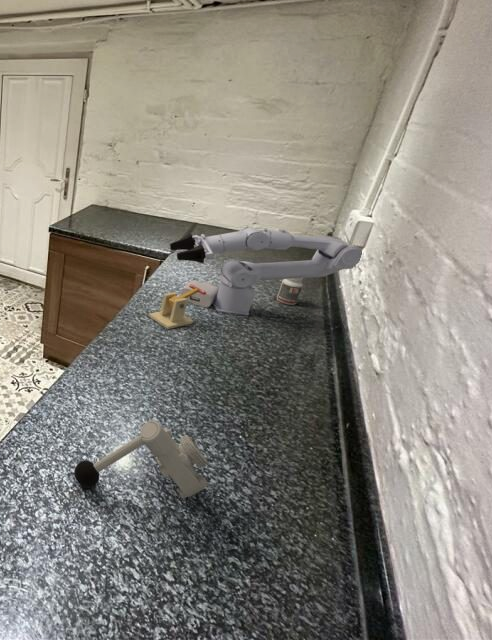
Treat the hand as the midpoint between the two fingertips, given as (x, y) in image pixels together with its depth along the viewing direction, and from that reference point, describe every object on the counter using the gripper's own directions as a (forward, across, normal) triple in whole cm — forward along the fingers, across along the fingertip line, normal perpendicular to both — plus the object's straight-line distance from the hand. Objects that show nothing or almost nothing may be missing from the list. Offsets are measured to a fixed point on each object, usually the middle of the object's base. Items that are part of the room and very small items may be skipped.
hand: (173, 251), depth 127 cm
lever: (+1, +11, +11) cm, 16 cm away
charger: (-9, -5, +22) cm, 24 cm away
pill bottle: (-36, -7, +30) cm, 48 cm away
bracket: (+6, +14, +16) cm, 22 cm away
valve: (+26, +74, +6) cm, 79 cm away
